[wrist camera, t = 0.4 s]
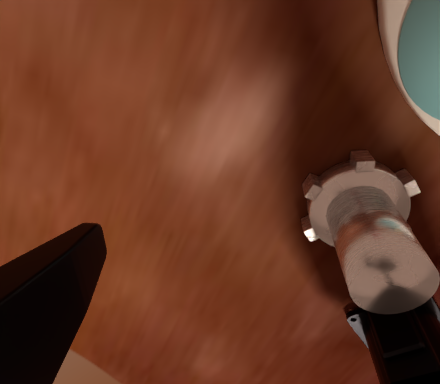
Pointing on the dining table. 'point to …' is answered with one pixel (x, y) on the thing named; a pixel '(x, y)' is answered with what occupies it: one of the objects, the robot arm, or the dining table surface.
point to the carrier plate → (414, 53)
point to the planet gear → (371, 233)
